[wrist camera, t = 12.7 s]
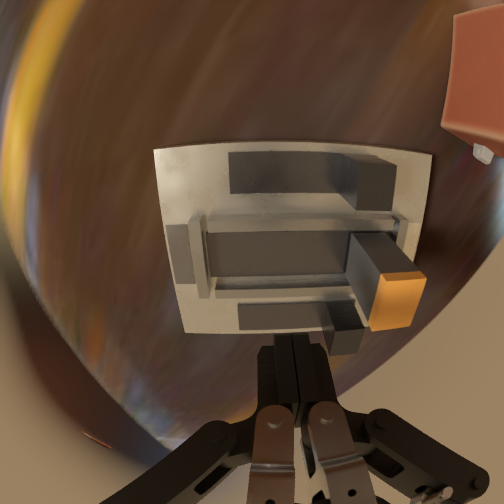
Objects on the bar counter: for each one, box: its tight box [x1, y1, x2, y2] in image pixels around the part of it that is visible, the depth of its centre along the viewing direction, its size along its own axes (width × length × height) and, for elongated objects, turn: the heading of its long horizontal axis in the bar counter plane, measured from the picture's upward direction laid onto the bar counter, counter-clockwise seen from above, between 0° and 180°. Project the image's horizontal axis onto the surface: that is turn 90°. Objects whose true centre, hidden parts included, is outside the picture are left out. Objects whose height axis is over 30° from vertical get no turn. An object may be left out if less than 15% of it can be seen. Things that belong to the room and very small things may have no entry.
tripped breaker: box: [345, 233, 427, 331], centre depth 17 cm, size 4×3×6 cm
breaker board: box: [154, 140, 432, 356], centre depth 19 cm, size 16×20×6 cm
